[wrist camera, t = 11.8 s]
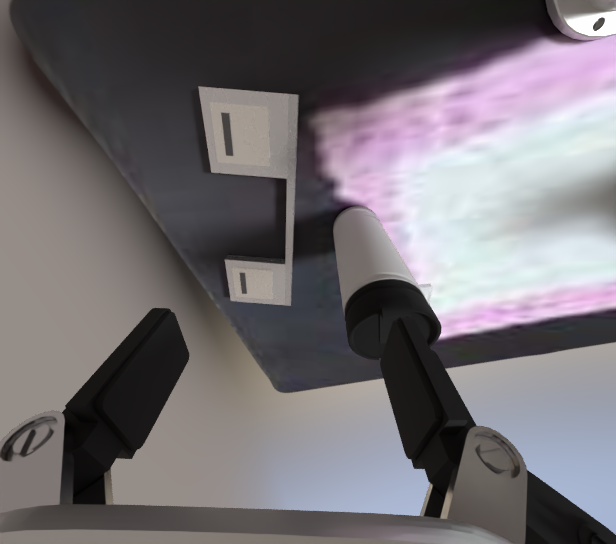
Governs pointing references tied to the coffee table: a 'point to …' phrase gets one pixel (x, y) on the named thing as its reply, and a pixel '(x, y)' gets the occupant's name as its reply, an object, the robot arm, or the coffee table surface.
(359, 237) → the travel mug
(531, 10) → the coffee table surface
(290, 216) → the panel
